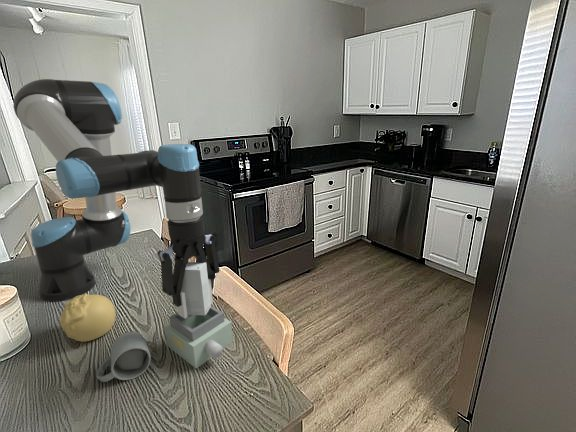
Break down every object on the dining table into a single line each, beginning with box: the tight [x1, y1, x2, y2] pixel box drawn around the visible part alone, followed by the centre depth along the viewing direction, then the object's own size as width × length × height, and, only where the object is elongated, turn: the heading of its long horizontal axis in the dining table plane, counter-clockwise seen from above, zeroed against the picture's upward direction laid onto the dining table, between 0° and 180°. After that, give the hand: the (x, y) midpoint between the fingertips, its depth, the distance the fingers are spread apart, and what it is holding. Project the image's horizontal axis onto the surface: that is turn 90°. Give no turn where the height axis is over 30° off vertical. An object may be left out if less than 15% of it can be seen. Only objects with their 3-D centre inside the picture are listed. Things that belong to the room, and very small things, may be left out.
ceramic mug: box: [96, 330, 152, 383], centre depth 68 cm, size 11×8×8 cm
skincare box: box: [181, 261, 212, 315], centre depth 72 cm, size 6×4×12 cm
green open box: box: [163, 305, 234, 369], centre depth 75 cm, size 15×11×8 cm
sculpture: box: [59, 293, 117, 343], centre depth 79 cm, size 12×12×11 cm
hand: (196, 308), depth 74 cm, fingers closed on skincare box, 6 cm apart
